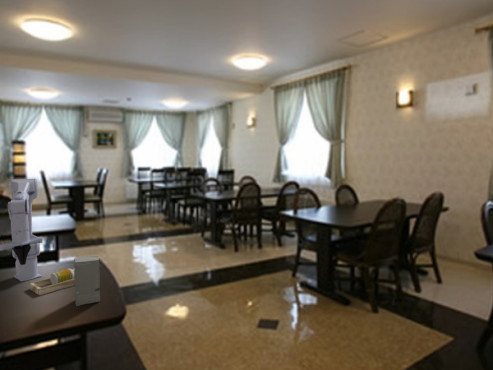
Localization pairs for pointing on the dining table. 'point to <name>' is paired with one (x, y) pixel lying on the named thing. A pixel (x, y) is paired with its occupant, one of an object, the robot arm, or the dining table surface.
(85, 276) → the skincare box
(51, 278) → the supplement bottle
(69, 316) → the dining table surface
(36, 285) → the tray
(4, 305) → the dining table surface
